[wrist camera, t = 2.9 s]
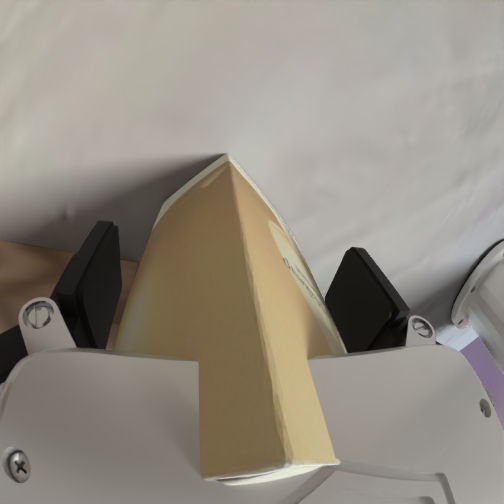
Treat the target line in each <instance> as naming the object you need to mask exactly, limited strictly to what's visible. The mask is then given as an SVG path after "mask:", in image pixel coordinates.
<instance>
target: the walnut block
mask: <svg viewBox="0 0 504 504" xmlns="http://www.w3.org/2000/svg"><path fill="white" fill-rule="evenodd" d="M74 254H75V253H73V252H67V251H61V250H55V249H49V248H43V247H37V246H31V245H26V244H20V243H15V242H9V241H4V240H0V334H1V333H3V332H5V331H7V330H9V329H11V328H12V327H14V326H16V325H18V324H19V318H18V317H19V313H20V310H21V309H22V307H23V306H24V305H25V304H26V303H27V302H29V301H30V300H32V299H35V298H39V297H45V298H50V296H51V294H52V292H53V290H54V288H55V286H56V284H57V283H58V281H59V279H60V277H61V275H62V274H63V272H64V270H65V268H66V267H67V265H68V263H69V261H70V260H71V258H72V256H73V255H74ZM120 263H121V274H122V291H121V294H120V298H119V301H118V304H117V308H116V311H115V315H114V319H113V322H112V326H111V330H110V334H109V338H108V342H107V346H106V350H113V348H114V344H115V340H116V337H117V333H118V330H119V326H120V323H121V319H122V316H123V313H124V309H125V306H126V302H127V299H128V296H129V293H130V290H131V286H132V283H133V280H134V277H135V275H136V272H137V269H138V262H132V261H125V260H120Z"/></svg>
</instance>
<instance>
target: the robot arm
mask: <svg viewBox="0 0 504 504" xmlns="http://www.w3.org/2000/svg"><path fill="white" fill-rule="evenodd" d="M121 291H122V274H121V263H120V251H119V235H118V226H114V224H113V222H111V221H98V222H97V223H96V225H95V226H94V228H93V229H92V231H91V233H90V234H89V236H88V237H87V239H86V240H85V242H84V244H83V245H82V247H81V248H80V250H79V252H78V253H75V254H74V255H73V256H72V258H71V260H70V261H69V263H68V265H67V267H66V268H65V270H64V272H63V274H62V275H61V277H60V279H59V281H58V283H57V284H56V286H55V288H54V290H53V292H52V294H51V296H50V298H45V297H39V298H35V299H32V300H30V301H29V302H27V303H26V304H25V305H24V306H23V307H22V309H21V310H20V313H19V317H18V318H19V324H18V325H16V326H14V327H12V328H11V329H9V330H7V331H5V332H3V333H1V334H0V504H504V431H503V428H502V426H501V423H500V421H499V419H498V416H497V414H496V412H495V410H494V408H493V407H494V398H493V396H492V393H491V392H490V391H489V390H488V389H487V388H486V387H485V386H484V385H483V384H482V383H481V382H480V380H479V378H478V376H477V375H476V373H475V371H474V370H473V368H472V367H471V365H470V364H469V362H468V361H467V359H466V358H465V357H464V356H463V354H461V353H460V352H459V351H457V350H455V349H453V348H451V347H447V346H444V345H442V344H440V343H438V342H437V341H436V335H435V330H434V328H433V327H432V325H431V324H430V323H429V322H428V321H427V320H426V319H424V318H422V317H420V316H416V315H414V316H411V317H410V318H409V319H408V320H407V318H406V316H407V315H408V313H409V312H410V309H409V308H408V306H407V305H406V303H405V302H404V301H403V299H402V298H401V296H400V295H399V294H398V292H397V291H396V289H395V288H394V287H393V285H392V284H391V283H390V281H389V280H388V279H387V277H386V276H385V275H384V273H383V272H382V271H381V269H380V268H379V267H378V265H377V264H376V263H375V262H374V260H373V259H372V258H371V257H370V255H369V254H368V253H367V251H366V250H365V249H364V248H357V247H351V248H350V249H349V250H347V251H346V253H345V255H344V257H343V259H342V261H341V264H340V266H339V268H338V270H337V272H336V275H335V277H334V279H333V281H332V283H331V285H330V287H329V290H328V292H327V294H326V296H325V304H326V306H327V308H328V310H329V312H330V315H331V317H332V319H333V321H334V323H335V325H336V328H337V330H338V332H339V334H340V336H341V338H342V341H343V343H344V345H345V347H346V350H347V352H348V353H345V354H334V355H322V356H315V357H313V358H311V359H308V360H307V362H308V366H309V369H310V372H311V376H312V379H313V382H314V386H315V389H316V393H317V396H318V399H319V403H320V406H321V409H322V413H323V416H324V420H325V423H326V427H327V430H328V433H329V437H330V440H331V444H332V447H333V451H334V454H335V458H336V459H337V460H339V461H340V462H341V464H338V465H330V466H329V465H328V466H326V467H324V468H322V467H323V466H321V467H319V468H317V469H314V470H312V471H309V472H306V473H303V474H299V475H295V476H291V477H287V478H282V479H277V480H273V481H267V482H260V483H252V484H242V485H225V484H223V483H221V482H219V481H217V480H203V478H202V475H201V467H200V438H199V362H198V361H194V360H191V359H187V358H182V357H177V356H169V355H155V354H143V353H133V352H124V351H115V350H106V346H107V342H108V338H109V334H110V330H111V326H112V322H113V319H114V315H115V311H116V308H117V304H118V301H119V298H120V294H121ZM451 319H452V322H453V323H454V325H455V326H456V327H457V328H459V329H463V328H467V327H469V326H472V328H473V329H474V331H475V332H476V333H477V335H478V336H479V338H480V339H481V340H482V342H483V344H484V345H485V347H486V348H487V350H488V351H489V353H490V354H491V356H492V357H493V359H494V360H495V362H496V364H497V365H498V367H499V368H500V370H501V372H502V374H503V375H504V241H502V242H501V243H499V244H498V245H496V246H495V247H494V248H493V249H492V250H491V251H490V252H489V253H488V254H487V255H486V256H485V257H484V258H483V260H482V261H481V262H480V263H479V264H478V266H477V267H476V268H475V270H474V271H473V272H472V274H471V275H470V276H469V278H468V280H467V281H466V283H465V284H464V286H463V288H462V289H461V291H460V293H459V295H458V297H457V299H456V301H455V303H454V306H453V309H452V315H451ZM320 468H321V469H320Z"/></svg>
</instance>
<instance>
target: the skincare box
mask: <svg viewBox="0 0 504 504" xmlns="http://www.w3.org/2000/svg"><path fill="white" fill-rule="evenodd" d="M113 350H115V351H124V352H133V353H143V354H155V355H169V356H177V357H182V358H187V359H191V360H194V361H198V362H199V438H200V467H201V475H202V478H203V480H217V481H219V482H221V483H223V484H225V485H242V484H252V483H260V482H267V481H273V480H277V479H282V478H287V477H291V476H295V475H299V474H303V473H306V472H309V471H312V470H314V469H317V468H319V467H321V466H323V467H322V468H324V467H326V466H328V465H329V466H330V465H338V464H341V462H340V461H339V460H337V459H336V458H335V454H334V451H333V447H332V444H331V440H330V437H329V433H328V430H327V427H326V423H325V420H324V416H323V413H322V409H321V406H320V403H319V399H318V396H317V393H316V389H315V386H314V382H313V379H312V376H311V372H310V369H309V366H308V362H307V360H308V359H311V358H313V357H315V356H322V355H334V354H345V353H347V352H346V349H345V347H344V344H343V342H342V340H341V337H340V335H339V333H338V330H337V328H336V326H335V324H334V321H333V319H332V317H331V315H330V313H329V310H328V308H327V306H326V304H325V301H324V299H323V297H322V295H321V293H320V291H319V288H318V286H317V284H316V282H315V280H314V278H313V276H312V274H311V271H310V269H309V267H308V265H307V263H306V261H305V259H304V257H303V254H302V252H301V250H300V248H299V246H298V244H297V242H296V240H295V238H294V236H293V235H292V233H291V232H290V230H289V229H288V227H287V226H286V224H285V223H284V221H283V220H282V219H281V217H280V216H279V214H278V213H277V212H276V210H275V209H274V208H273V206H272V205H271V204H270V202H269V201H268V200H267V198H266V197H265V196H264V194H263V193H262V192H261V191H260V190H259V188H258V187H257V186H256V185H255V184H254V183H253V181H252V180H251V179H250V178H249V177H248V175H247V174H246V173H245V172H244V171H243V170H242V168H241V167H240V166H239V165H238V164H237V163H236V161H235V160H234V159H233V158H232V157H231V156H230V155H229V154H225V155H223V156H222V157H220V158H219V159H218V160H216V161H215V162H213V163H212V164H211V165H209V166H208V167H206V168H205V169H204V170H203V171H201V172H200V173H199V174H197V175H196V176H195V177H193V178H192V179H191V180H190V181H188V182H187V183H186V184H185V185H183V186H182V187H181V188H180V189H179V190H177V191H176V192H175V193H174V194H173V195H172V196H170V197H169V198H168V199H167V200H166V201H165V202H164V203H163V205H162V207H161V209H160V212H159V214H158V217H157V219H156V222H155V224H154V226H153V229H152V231H151V234H150V237H149V239H148V242H147V244H146V247H145V250H144V252H143V255H142V258H141V261H140V264H139V266H138V269H137V272H136V275H135V277H134V280H133V283H132V286H131V290H130V293H129V296H128V299H127V302H126V306H125V309H124V313H123V316H122V319H121V323H120V326H119V330H118V333H117V337H116V340H115V344H114V348H113ZM320 469H321V468H320Z"/></svg>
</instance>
